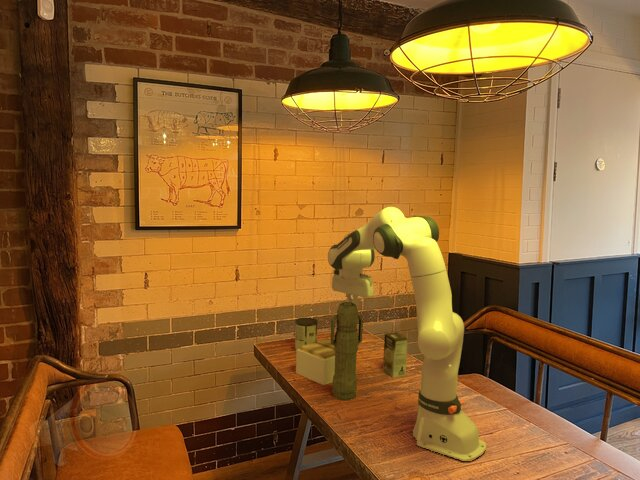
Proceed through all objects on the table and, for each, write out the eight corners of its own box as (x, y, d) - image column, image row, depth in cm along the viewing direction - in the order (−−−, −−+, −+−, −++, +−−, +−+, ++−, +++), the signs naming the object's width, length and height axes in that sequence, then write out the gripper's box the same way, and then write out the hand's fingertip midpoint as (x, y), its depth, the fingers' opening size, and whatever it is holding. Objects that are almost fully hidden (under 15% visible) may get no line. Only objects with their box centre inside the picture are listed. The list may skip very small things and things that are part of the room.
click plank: (351, 349, 202) (351, 346, 202) (340, 353, 197) (340, 350, 197) (327, 341, 212) (327, 338, 211) (315, 344, 207) (315, 341, 206)
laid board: (338, 354, 196) (338, 350, 196) (325, 359, 191) (325, 355, 190) (314, 345, 206) (314, 341, 206) (300, 349, 200) (300, 346, 200)
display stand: (353, 373, 203) (354, 349, 202) (323, 385, 190) (324, 360, 189) (326, 362, 214) (326, 340, 213) (295, 373, 201) (296, 349, 200)
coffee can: (302, 344, 236) (303, 316, 234) (320, 349, 230) (321, 319, 229) (290, 350, 227) (290, 321, 225) (308, 355, 222) (309, 325, 220)
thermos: (364, 397, 181) (368, 305, 176) (335, 402, 176) (338, 308, 172) (353, 388, 189) (356, 299, 184) (325, 392, 184) (328, 301, 180)
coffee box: (382, 369, 208) (383, 333, 206) (395, 367, 210) (397, 331, 208) (393, 378, 199) (394, 340, 197) (406, 376, 202) (408, 338, 200)
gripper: (376, 274, 200) (376, 307, 201) (339, 268, 214) (338, 299, 215) (367, 276, 195) (366, 310, 197) (329, 269, 209) (329, 301, 211)
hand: (351, 304), depth 206 cm, fingers closed
